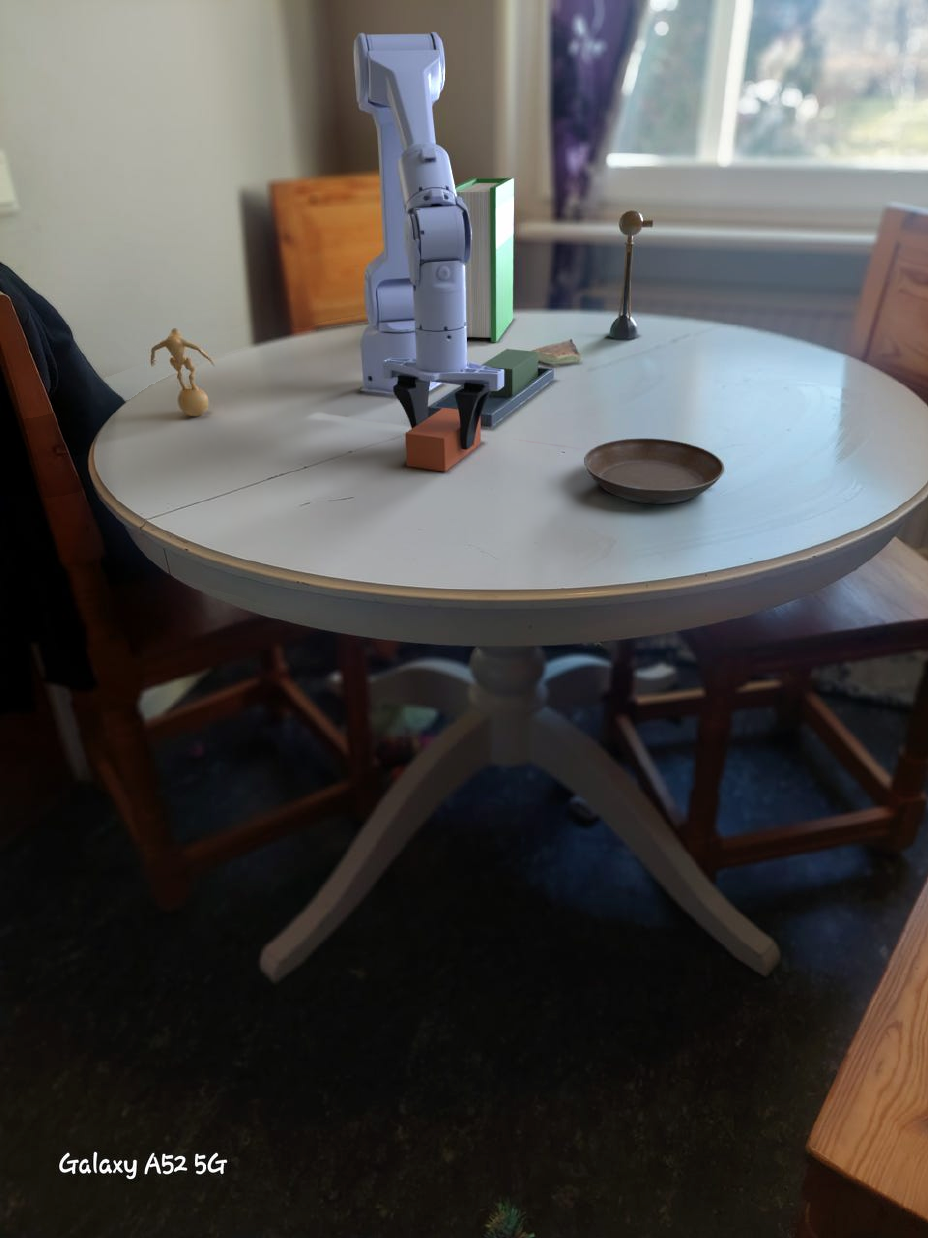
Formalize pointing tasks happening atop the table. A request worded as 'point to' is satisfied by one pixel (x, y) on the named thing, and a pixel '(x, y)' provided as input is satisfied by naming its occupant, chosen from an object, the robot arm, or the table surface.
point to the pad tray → (497, 399)
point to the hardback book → (489, 255)
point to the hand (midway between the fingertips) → (444, 443)
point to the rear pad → (514, 370)
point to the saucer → (653, 469)
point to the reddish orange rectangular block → (438, 441)
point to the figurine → (192, 396)
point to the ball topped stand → (628, 276)
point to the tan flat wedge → (558, 353)
